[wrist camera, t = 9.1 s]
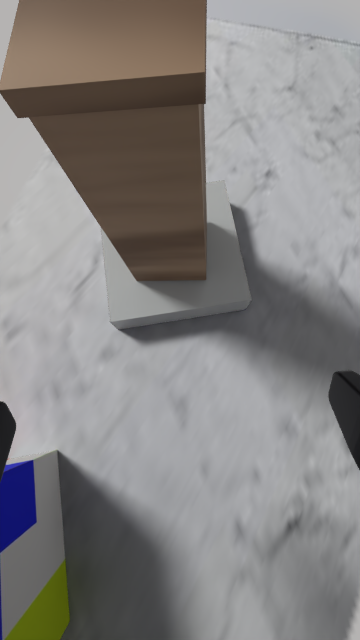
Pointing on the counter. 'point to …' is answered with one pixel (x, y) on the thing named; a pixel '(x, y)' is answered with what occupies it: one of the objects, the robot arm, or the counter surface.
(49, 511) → the puzzle toy
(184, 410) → the counter surface
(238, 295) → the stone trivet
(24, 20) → the walnut canister
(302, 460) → the counter surface
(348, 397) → the robot arm
